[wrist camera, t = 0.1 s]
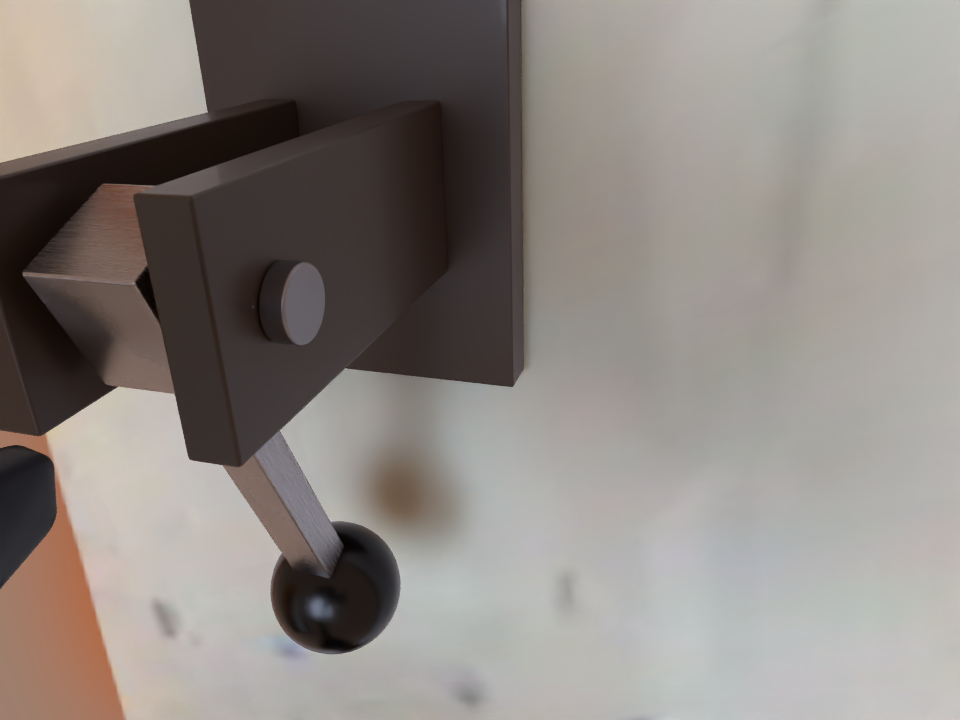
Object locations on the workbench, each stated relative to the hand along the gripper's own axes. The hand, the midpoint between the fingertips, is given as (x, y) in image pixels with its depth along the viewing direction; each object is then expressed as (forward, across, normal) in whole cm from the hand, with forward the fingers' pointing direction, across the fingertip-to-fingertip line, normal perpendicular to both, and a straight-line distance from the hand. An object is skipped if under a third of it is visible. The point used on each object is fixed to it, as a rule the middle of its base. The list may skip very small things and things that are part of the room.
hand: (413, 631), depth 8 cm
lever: (+9, +6, +5) cm, 12 cm away
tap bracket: (+15, +7, 0) cm, 16 cm away
